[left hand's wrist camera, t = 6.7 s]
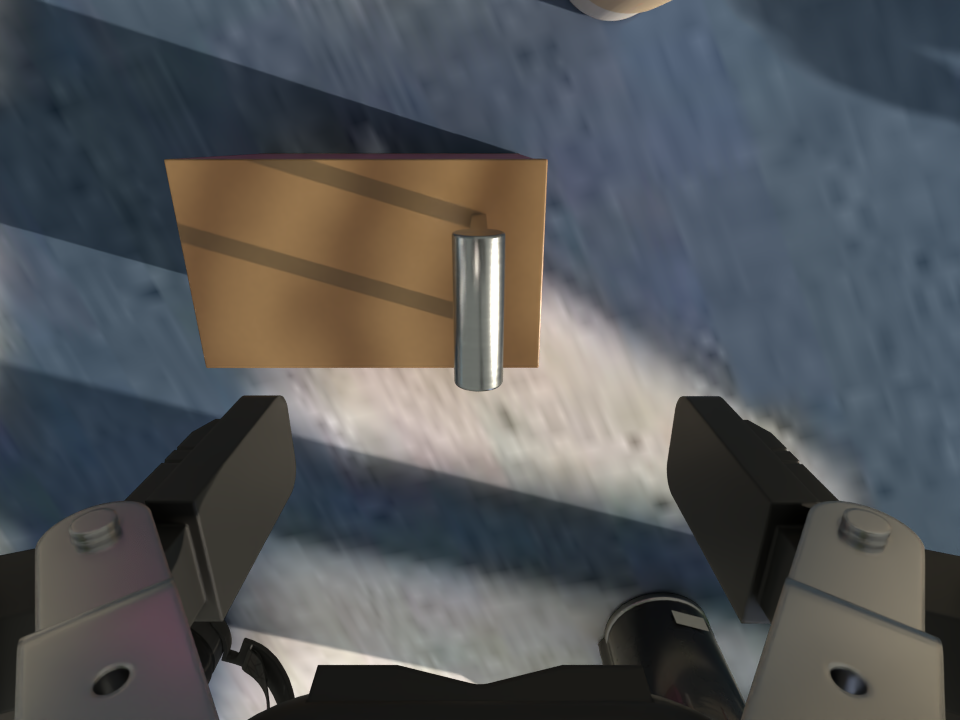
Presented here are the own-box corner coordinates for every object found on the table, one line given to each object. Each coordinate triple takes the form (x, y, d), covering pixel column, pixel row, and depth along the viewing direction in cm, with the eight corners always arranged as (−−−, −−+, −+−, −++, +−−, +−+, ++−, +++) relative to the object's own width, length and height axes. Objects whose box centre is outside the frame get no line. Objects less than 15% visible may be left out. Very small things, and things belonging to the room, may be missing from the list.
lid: (545, 158, 25) (575, 166, 17) (536, 361, 28) (558, 443, 21) (174, 158, 25) (34, 166, 17) (214, 361, 28) (114, 443, 21)
